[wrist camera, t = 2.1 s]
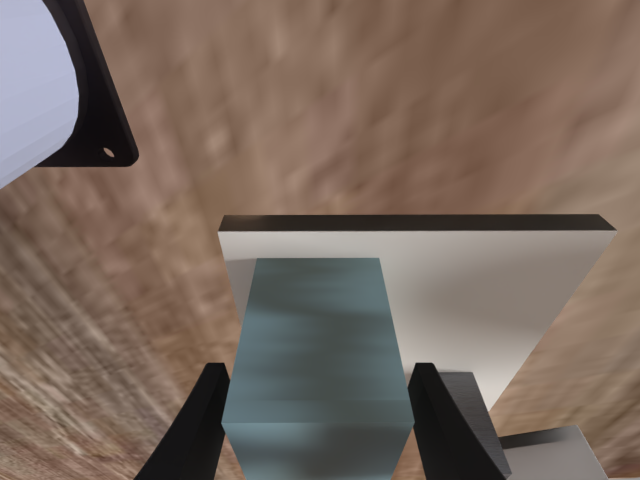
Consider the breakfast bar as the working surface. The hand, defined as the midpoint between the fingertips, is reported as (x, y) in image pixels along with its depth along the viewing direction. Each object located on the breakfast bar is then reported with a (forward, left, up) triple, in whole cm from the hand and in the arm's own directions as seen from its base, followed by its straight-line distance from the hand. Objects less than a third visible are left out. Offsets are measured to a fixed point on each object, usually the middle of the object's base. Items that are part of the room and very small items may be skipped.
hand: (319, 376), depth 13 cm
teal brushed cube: (0, 0, -4) cm, 4 cm away
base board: (+4, -4, -5) cm, 8 cm away
